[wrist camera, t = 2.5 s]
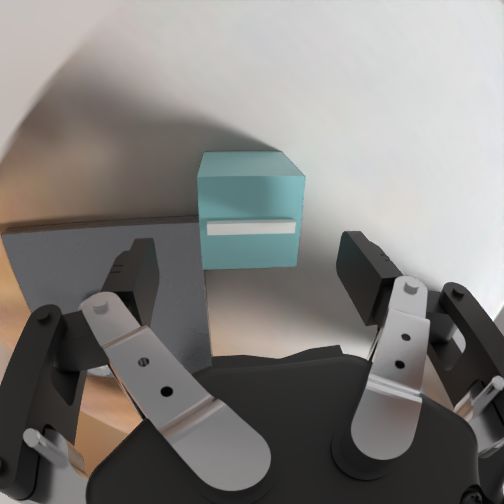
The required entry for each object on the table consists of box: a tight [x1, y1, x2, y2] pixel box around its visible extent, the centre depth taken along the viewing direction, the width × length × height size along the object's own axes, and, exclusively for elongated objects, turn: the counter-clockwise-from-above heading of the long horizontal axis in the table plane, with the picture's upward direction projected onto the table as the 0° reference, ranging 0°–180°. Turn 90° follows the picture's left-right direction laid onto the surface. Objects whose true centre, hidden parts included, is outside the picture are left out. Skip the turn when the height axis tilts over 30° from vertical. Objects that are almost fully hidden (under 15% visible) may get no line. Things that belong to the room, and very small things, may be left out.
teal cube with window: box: [197, 151, 306, 270], centre depth 18 cm, size 5×5×6 cm
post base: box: [1, 216, 213, 378], centre depth 22 cm, size 18×18×6 cm
